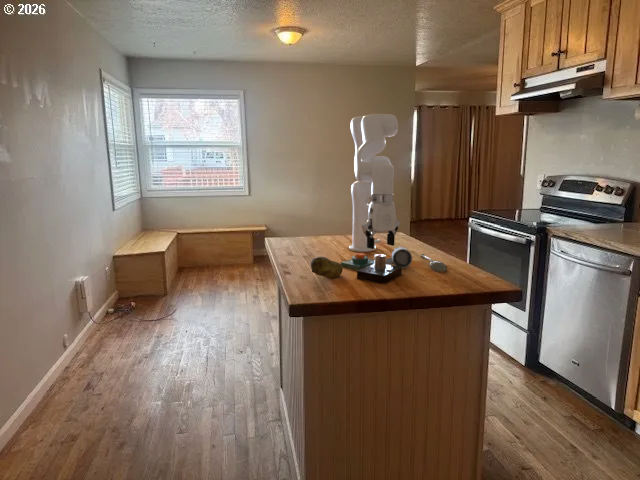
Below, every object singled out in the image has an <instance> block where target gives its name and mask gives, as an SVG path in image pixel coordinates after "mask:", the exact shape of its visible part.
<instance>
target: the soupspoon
mask: <svg viewBox="0 0 640 480" xmlns="http://www.w3.org/2000/svg"><path fill="white" fill-rule="evenodd" d="M420 258H422V259H424V258H425V259H427V260H429V261H430V263H428V266H429V267H430V269H432V270H433V271H436V272H438V273H439V272H440V273H441V272H442V273H443V272H446V271H447V270H448V266H447V264H445V263H443V261H437V260H435V261H434V260H433V259H432V258H431V257H429V256H426V255H425V253H422V254H420Z"/></svg>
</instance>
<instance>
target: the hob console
mask: <svg viewBox="0 0 640 480" xmlns="http://www.w3.org/2000/svg"><path fill="white" fill-rule="evenodd" d="M374 264H375V263H374ZM374 264H372V265H369V266H367V267H365V268H363V269H360V270H356V279H357V280H361V281H367V282H372V283H377V284H381V285H387V284H388V283H390V282H392V281H393V280H396V279H397V278H399V277H400V276H402V275H403V268H402V267H398V266H395V265H393V264H392V265H386V268H385V270H376V269H374Z"/></svg>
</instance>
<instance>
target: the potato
mask: <svg viewBox="0 0 640 480" xmlns="http://www.w3.org/2000/svg"><path fill="white" fill-rule="evenodd" d="M310 268H311V273H313V274H315V275H316V276H318V277H319V276H320V277H324V278H327V279H334V278H337V277H339V276H340V275H342V273H343V270H344V267H342V265H341V262H340V263H339V262H337V261H334V260H331V259H329V258H328V257H325V256H316V257H314V258H312V259H311V262H310Z"/></svg>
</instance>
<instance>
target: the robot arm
mask: <svg viewBox="0 0 640 480" xmlns="http://www.w3.org/2000/svg"><path fill="white" fill-rule="evenodd" d="M398 129H399V121H398V118H397V117H396V115H394V114H393V113H369V114H367V115H359V116H354V117H353V118H352V119H351V121H350V131H351V136H352V138H353V142H354V149H355V152H354V158H353V167H354V175H355V176H354V177H355V179H356V181H354V182H353V183H351V187H350V192H351V201H352V233H351V234H352V243H351V244H350V245H349V246H348V249H349V250H350V251H352V252H357V253H368V252H369V253H370V252H375V251H377V246H376V244H377V245H378V244H381V242H382V241H381V239H380V238H378V239H375V237H374V236H375V235H376V233H384V232H388V233H387V235H386V244H387V245H388V246H393V247H394V246H395V239H396V237H395V236H396V234H397V232H398V230H399V226H400V225H401V222H400V221H399V220H398V219H397V212H396V204H395V202H394V178H395V167H394V165H393V164H392V163H391V159H390V158H389V157H388V156H386V155H378V154H380V153H382V152H383V151H384V149H386V144H387V143H386V142H387V141H386V138H387V137H389V138H390V137H394V136H396V135H397V133H398V131H399V130H398Z"/></svg>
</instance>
